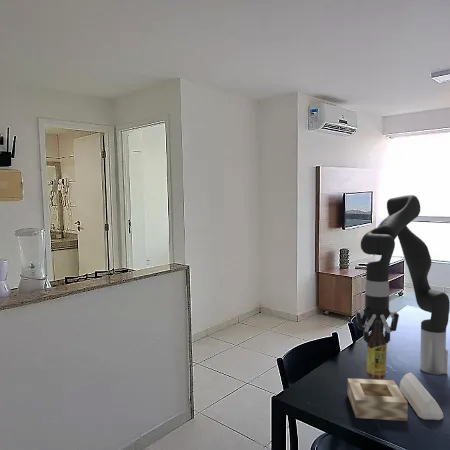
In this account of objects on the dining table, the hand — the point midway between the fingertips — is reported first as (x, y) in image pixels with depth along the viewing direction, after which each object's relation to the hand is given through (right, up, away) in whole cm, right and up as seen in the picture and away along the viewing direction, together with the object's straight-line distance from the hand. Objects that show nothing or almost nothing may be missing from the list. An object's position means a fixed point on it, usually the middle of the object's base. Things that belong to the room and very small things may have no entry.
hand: (376, 342), depth 137 cm
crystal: (+16, -23, +3) cm, 28 cm away
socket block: (0, -23, +1) cm, 23 cm away
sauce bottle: (0, -12, +1) cm, 12 cm away
